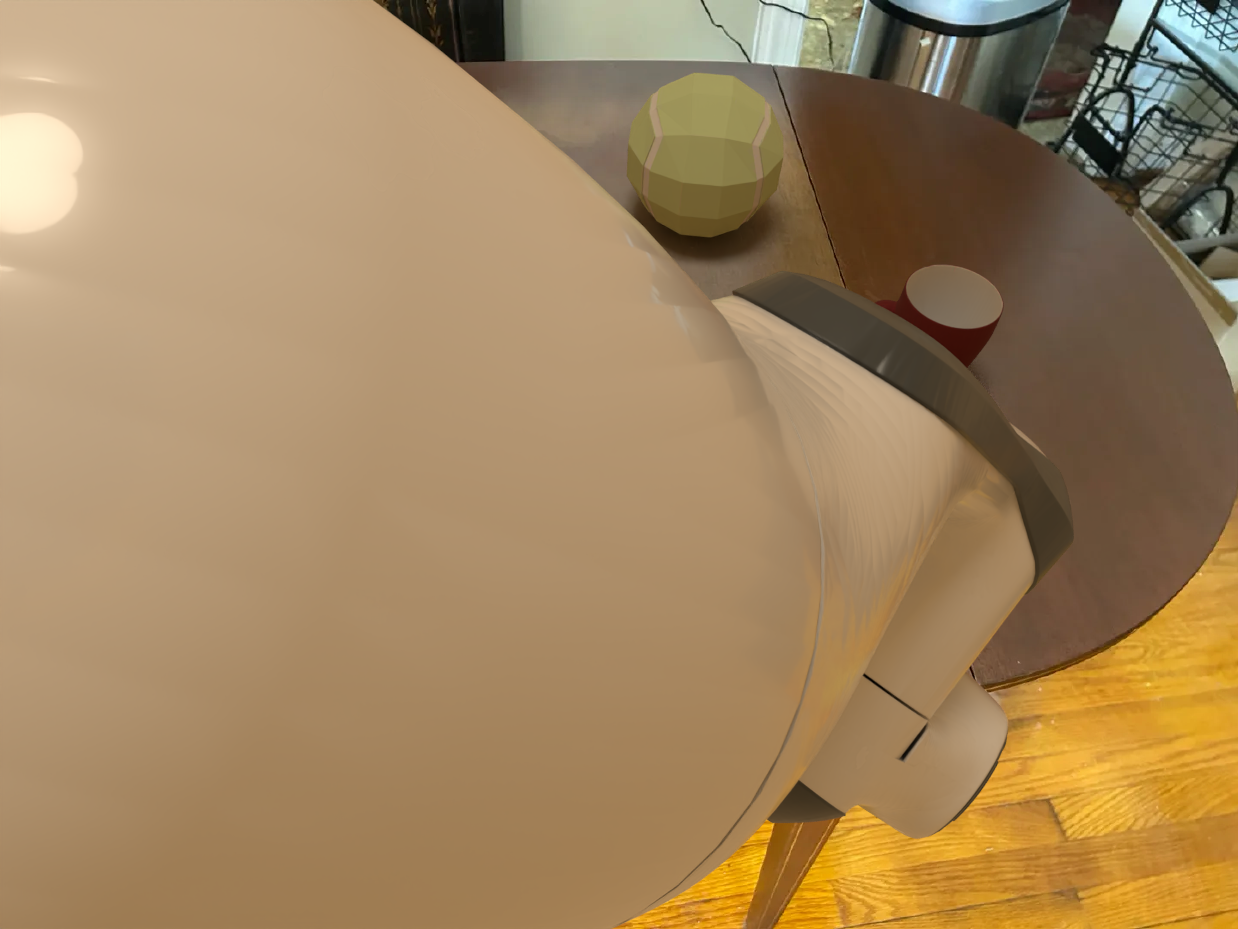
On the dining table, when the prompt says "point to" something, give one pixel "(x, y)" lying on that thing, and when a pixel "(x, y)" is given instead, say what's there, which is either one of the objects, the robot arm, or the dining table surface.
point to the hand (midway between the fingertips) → (528, 437)
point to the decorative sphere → (704, 154)
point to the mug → (950, 308)
